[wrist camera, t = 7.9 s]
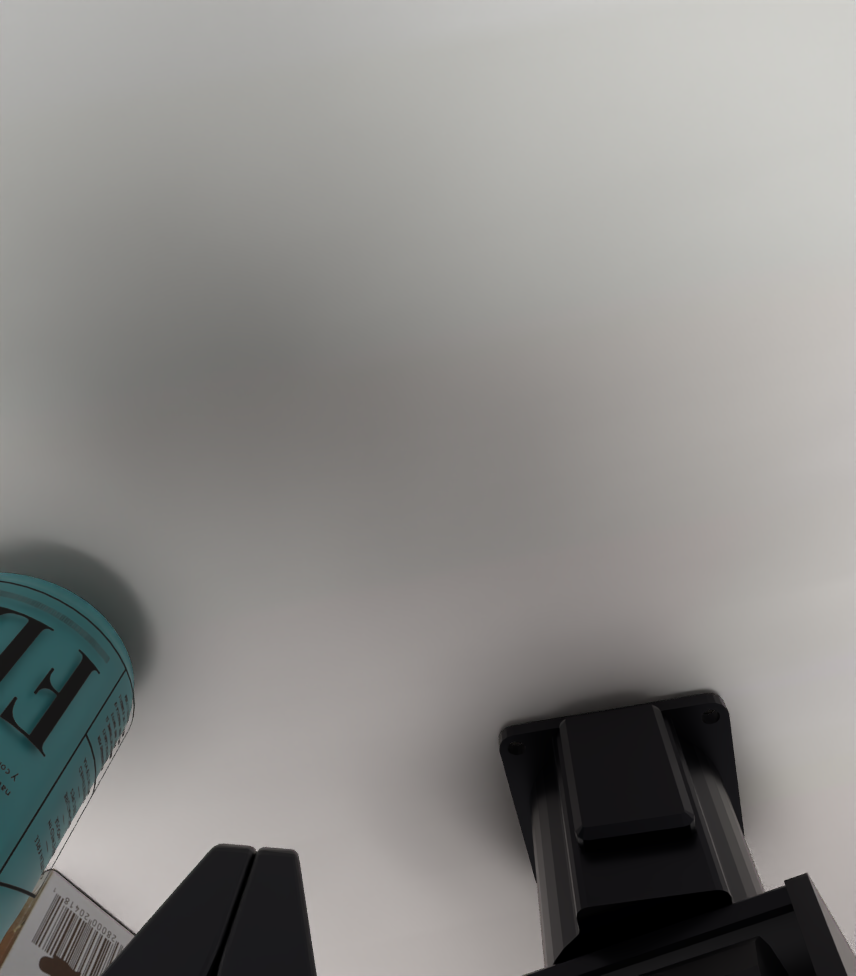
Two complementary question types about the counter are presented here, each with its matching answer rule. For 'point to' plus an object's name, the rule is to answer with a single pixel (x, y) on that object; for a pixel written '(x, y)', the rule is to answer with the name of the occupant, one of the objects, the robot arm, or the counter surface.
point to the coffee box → (61, 934)
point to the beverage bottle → (51, 722)
